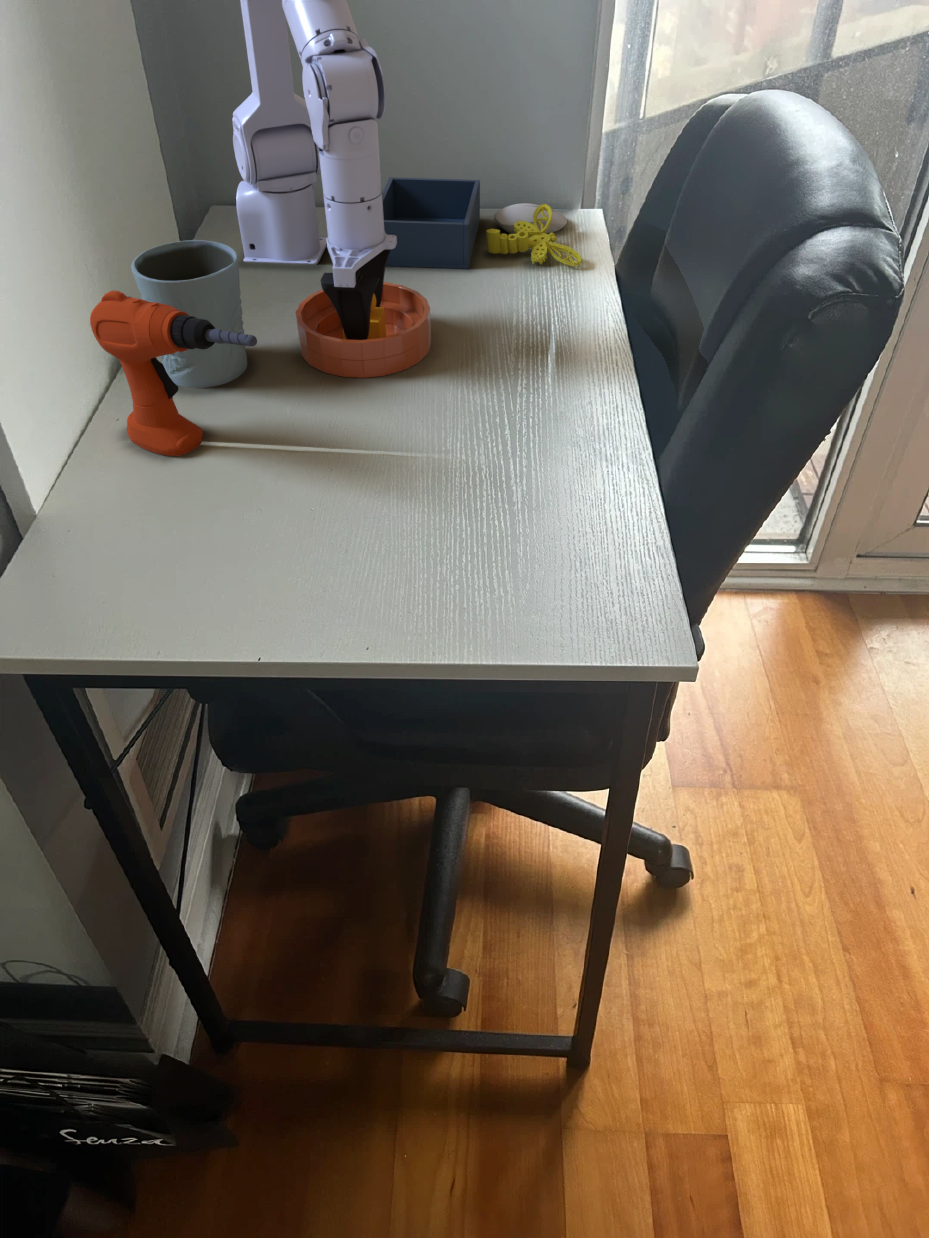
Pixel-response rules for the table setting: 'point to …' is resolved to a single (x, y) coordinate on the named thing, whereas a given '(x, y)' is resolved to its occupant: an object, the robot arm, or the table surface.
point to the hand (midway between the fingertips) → (364, 323)
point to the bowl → (369, 356)
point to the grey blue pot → (197, 304)
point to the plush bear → (376, 321)
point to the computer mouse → (527, 217)
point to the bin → (431, 221)
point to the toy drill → (155, 364)
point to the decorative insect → (532, 240)
